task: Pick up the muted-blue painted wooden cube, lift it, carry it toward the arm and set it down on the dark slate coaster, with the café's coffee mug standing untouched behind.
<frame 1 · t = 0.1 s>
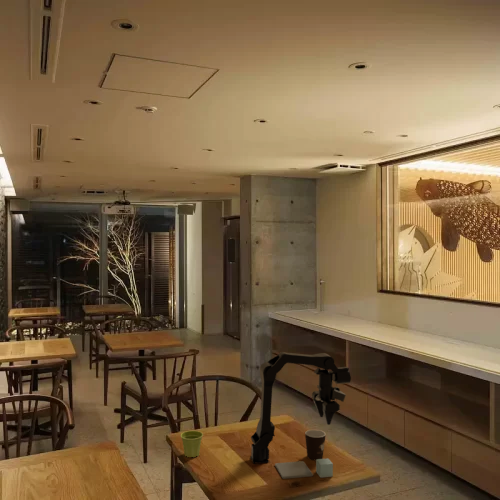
hand: (325, 420, 218), 15 cm above the table, fingers open, 9 cm apart
plant pot: (191, 455, 217), on the table
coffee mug: (317, 456, 217), on the table
cube: (324, 474, 201), on the table
coaster: (293, 470, 203), on the table
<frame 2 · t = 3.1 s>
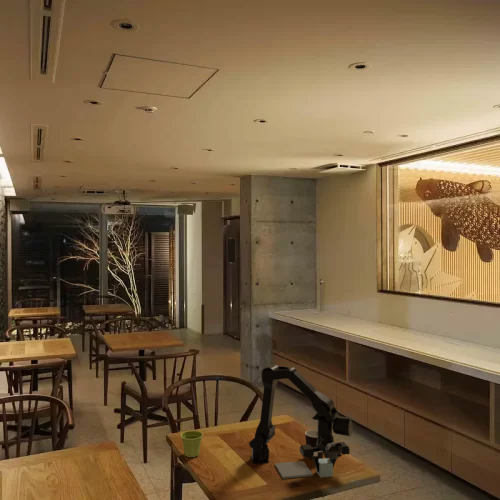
hand: (324, 471, 201), 1 cm above the table, fingers closed on cube, 5 cm apart
cube: (324, 474, 201), on the table, touching gripper
everything else where it was.
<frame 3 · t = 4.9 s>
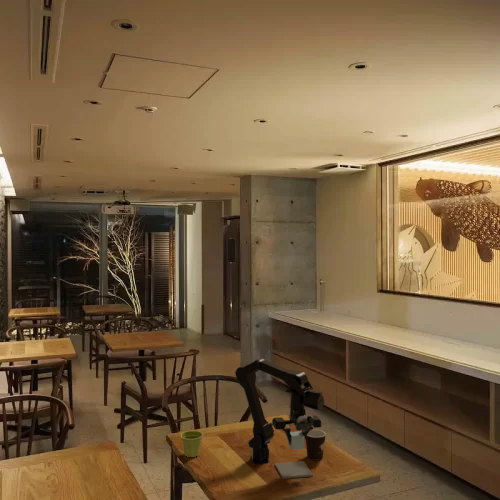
hand: (296, 443, 203), 11 cm above the table, fingers closed on cube, 5 cm apart
cube: (296, 446, 203), point 10 cm above the table, touching gripper
everything else where it was.
when the fingers open (3 cm above the table, at t = 7.0 s): cube stays where it is, resting on coaster.
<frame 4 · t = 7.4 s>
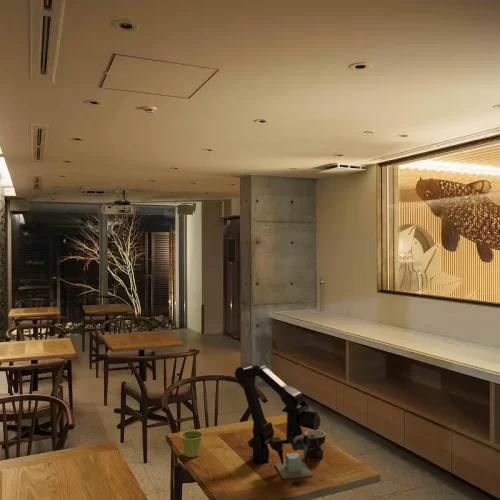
hand: (293, 463, 203), 3 cm above the table, fingers open, 9 cm apart
cube: (293, 468, 203), point 1 cm above the table, touching coaster
everything else where it was.
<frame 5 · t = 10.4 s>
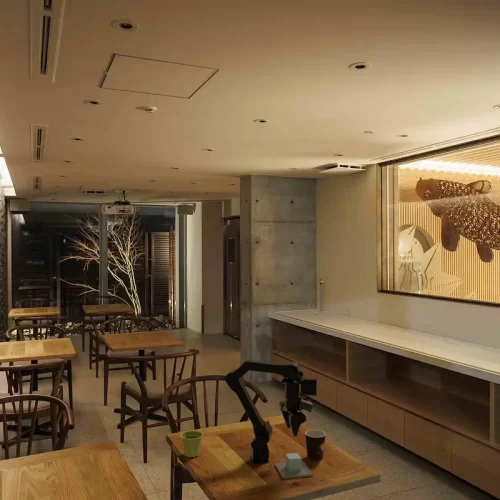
hand: (292, 432, 209), 13 cm above the table, fingers open, 9 cm apart
nothing on the table moved.
at the end: cube inside the target area on the coaster (0.0 cm from its centre), point 0.8 cm above the coaster's base; cube tilted 0°; the gripper is holding nothing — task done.
